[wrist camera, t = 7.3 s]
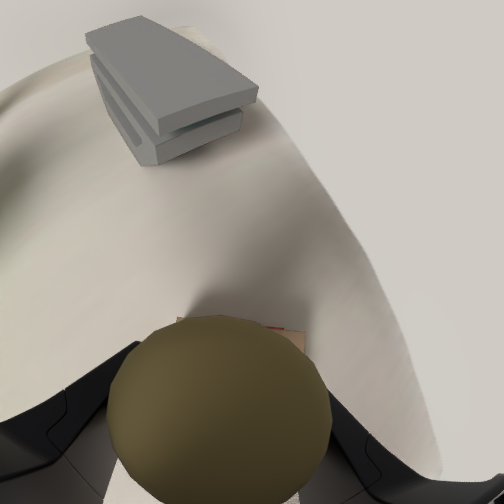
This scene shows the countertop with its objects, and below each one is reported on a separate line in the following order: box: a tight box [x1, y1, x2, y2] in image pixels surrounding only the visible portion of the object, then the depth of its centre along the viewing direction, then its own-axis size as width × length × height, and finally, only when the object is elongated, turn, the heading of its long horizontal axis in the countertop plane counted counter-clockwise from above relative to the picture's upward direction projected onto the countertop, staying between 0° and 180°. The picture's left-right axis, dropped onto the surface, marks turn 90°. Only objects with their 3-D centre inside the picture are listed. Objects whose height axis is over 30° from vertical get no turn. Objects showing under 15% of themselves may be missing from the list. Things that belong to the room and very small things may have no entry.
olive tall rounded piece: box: [106, 315, 333, 504], centre depth 9 cm, size 6×6×11 cm
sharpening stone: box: [85, 16, 259, 166], centre depth 23 cm, size 25×8×11 cm, turn 38°
